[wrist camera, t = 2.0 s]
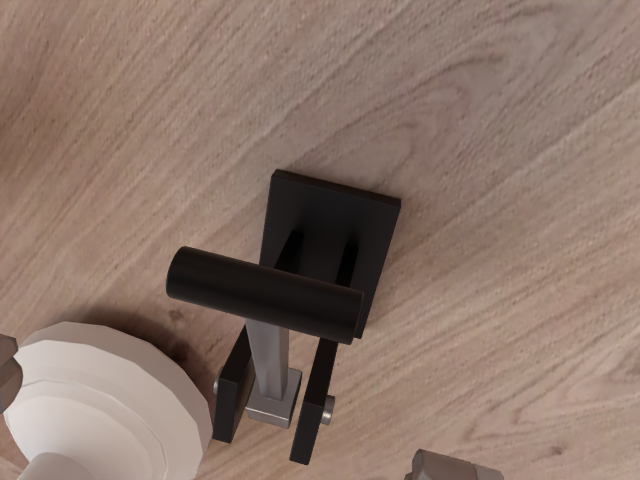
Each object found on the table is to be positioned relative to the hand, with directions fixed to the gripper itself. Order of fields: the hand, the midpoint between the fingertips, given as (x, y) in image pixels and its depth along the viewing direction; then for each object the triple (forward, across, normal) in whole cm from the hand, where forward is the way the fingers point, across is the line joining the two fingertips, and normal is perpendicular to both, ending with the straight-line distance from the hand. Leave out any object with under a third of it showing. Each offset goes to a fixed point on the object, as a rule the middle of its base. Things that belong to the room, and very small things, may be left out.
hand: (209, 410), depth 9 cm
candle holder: (+25, +16, +31) cm, 43 cm away
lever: (+8, 0, +5) cm, 10 cm away
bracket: (+24, 0, +11) cm, 27 cm away
